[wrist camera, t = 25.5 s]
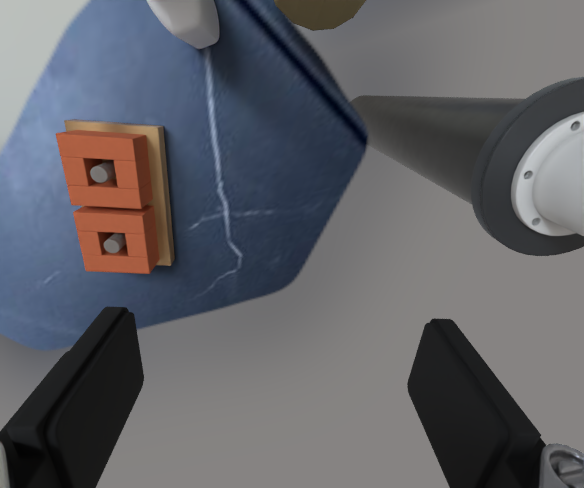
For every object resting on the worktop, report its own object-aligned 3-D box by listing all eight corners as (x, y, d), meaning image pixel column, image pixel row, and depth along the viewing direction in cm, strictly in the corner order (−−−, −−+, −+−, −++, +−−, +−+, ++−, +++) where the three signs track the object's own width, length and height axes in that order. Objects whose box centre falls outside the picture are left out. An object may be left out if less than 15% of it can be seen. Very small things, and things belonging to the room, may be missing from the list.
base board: (163, 125, 30) (142, 131, 26) (174, 259, 36) (160, 283, 31) (73, 119, 30) (36, 123, 25) (100, 255, 35) (74, 279, 31)
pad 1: (146, 134, 29) (132, 138, 26) (153, 199, 32) (141, 209, 29) (76, 129, 29) (55, 133, 26) (89, 195, 31) (71, 205, 28)
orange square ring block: (154, 205, 32) (142, 216, 29) (159, 259, 34) (149, 274, 32) (90, 201, 31) (72, 212, 29) (101, 257, 34) (85, 271, 31)
